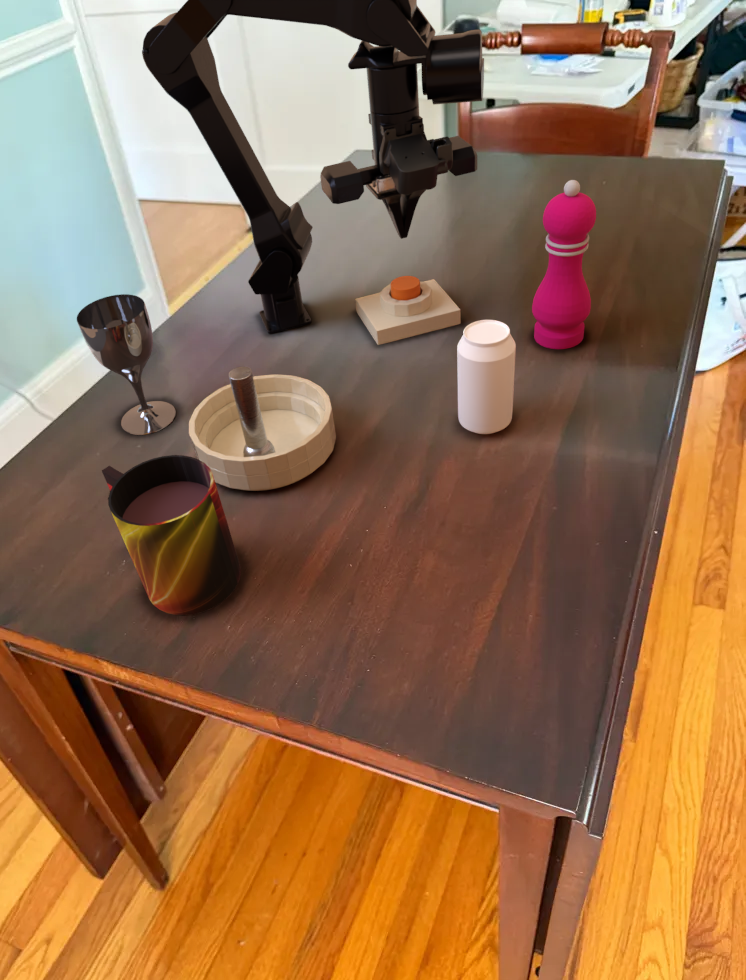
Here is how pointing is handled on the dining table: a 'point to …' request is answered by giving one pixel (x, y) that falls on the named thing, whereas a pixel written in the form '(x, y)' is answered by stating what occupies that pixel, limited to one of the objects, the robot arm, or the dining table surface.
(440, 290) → the push button box
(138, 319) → the wine glass
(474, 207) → the dining table surface
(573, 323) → the pepper mill
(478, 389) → the beverage can
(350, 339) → the dining table surface
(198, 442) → the bowl
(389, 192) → the robot arm
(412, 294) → the timer button
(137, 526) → the mug
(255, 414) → the metal pestle
